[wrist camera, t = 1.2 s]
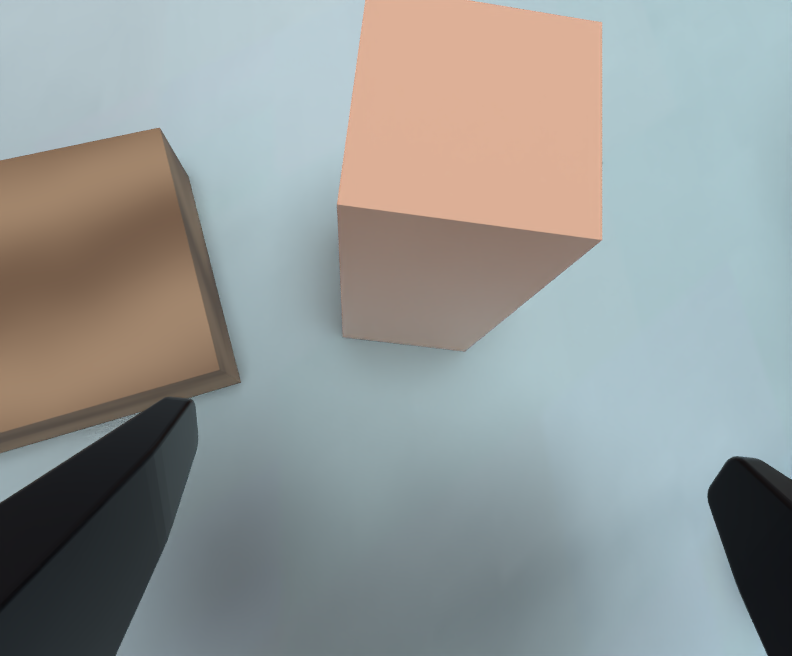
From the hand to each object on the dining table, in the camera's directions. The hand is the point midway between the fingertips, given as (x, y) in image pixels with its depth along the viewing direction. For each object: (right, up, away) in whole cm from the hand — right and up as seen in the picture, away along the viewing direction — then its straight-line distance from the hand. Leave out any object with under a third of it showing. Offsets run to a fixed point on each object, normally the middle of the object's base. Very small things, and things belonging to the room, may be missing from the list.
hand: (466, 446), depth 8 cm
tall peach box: (-1, +4, +15) cm, 15 cm away
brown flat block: (-14, +3, +13) cm, 20 cm away
